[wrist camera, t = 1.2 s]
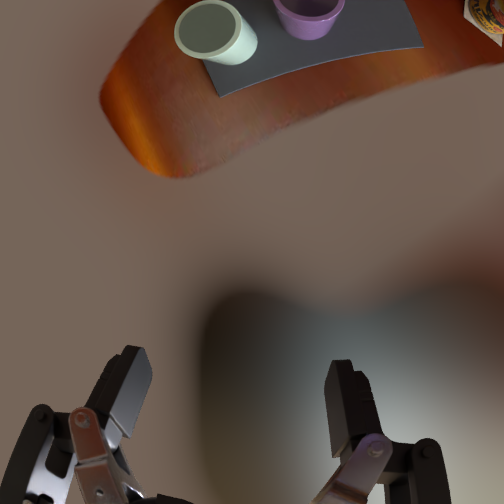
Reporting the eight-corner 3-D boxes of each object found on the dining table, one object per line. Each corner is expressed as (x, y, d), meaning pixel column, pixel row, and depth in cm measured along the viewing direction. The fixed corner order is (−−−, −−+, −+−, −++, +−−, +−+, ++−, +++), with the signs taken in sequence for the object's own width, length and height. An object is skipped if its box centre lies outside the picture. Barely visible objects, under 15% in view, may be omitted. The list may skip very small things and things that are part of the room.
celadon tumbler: (198, 33, 23) (164, 19, 16) (245, 13, 21) (225, -11, 14) (217, 73, 26) (188, 69, 19) (265, 54, 24) (253, 41, 17)
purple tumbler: (270, 4, 20) (259, -23, 13) (320, -8, 18) (326, -38, 11) (290, 46, 23) (287, 29, 16) (340, 33, 21) (356, 14, 14)
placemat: (184, 20, 23) (182, 19, 22) (383, -32, 14) (385, -34, 13) (220, 97, 28) (219, 97, 28) (422, 47, 20) (424, 47, 19)
